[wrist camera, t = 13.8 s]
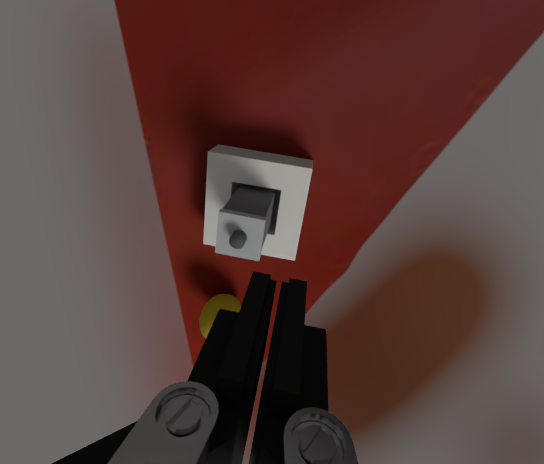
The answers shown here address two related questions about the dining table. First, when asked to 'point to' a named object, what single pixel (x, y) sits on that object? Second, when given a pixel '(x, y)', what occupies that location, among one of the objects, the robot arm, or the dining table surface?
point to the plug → (245, 222)
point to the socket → (265, 173)
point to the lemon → (213, 307)
